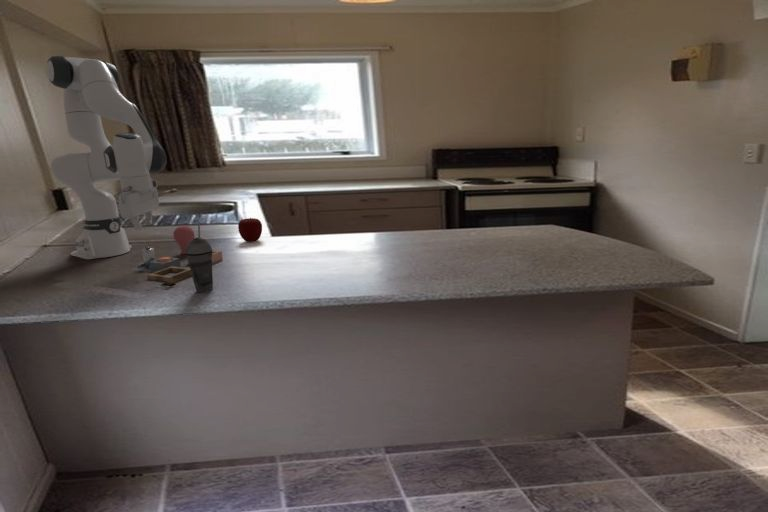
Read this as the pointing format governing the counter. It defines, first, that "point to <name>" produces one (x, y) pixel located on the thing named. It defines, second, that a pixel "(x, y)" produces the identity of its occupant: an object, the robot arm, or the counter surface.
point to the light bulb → (183, 236)
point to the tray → (173, 278)
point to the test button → (164, 259)
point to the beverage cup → (200, 263)
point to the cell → (148, 256)
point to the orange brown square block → (215, 256)
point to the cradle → (159, 265)
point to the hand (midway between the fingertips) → (143, 226)
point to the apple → (250, 229)
